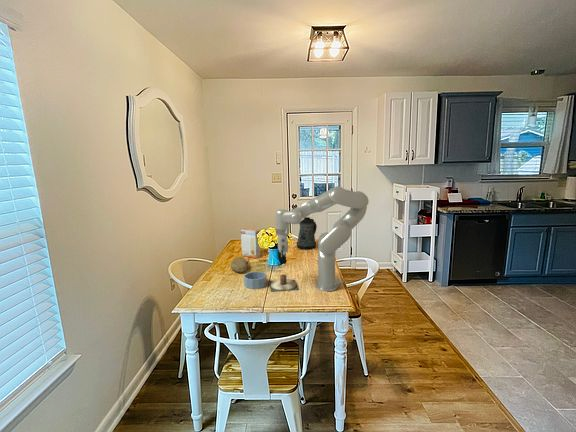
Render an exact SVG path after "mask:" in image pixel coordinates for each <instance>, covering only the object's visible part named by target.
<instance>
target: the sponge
mask: <svg viewBox="0 0 576 432" xmlns="http://www.w3.org/2000/svg"><path fill="white" fill-rule="evenodd" d="M248 263H249V260H248V258H247V257H246V258H245V257H243V256H238V257H237V258H236V257H235V258H234V259H233V260H232V261H231V262H230V268H231V269H232V270H234V271H235V272H237V273H243V272H244V273H245V271H246V270H247V269H248Z"/></svg>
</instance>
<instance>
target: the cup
mask: <svg viewBox="0 0 576 432" xmlns="http://www.w3.org/2000/svg"><path fill="white" fill-rule="evenodd" d="M267 280H268V279H267V273H265V272H264V271H250V272H246V273H245V274H243V284H244V285H243V286H244V288H246V289H248V290H260V289H263V288H265V287H267V285H268V282H267Z"/></svg>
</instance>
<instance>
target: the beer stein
mask: <svg viewBox="0 0 576 432" xmlns="http://www.w3.org/2000/svg"><path fill="white" fill-rule="evenodd" d="M317 227H318V225H317V223H316V221H315V220H314V219H313V218H311V217H308V216H307V217H305V218H303V219H302V221H301V222H300V223H299V232H298V238H297V241H296V248H297V249H298V250H304V251H310V250H314V249H316V247H317V242H316V233H317Z"/></svg>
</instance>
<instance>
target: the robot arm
mask: <svg viewBox="0 0 576 432" xmlns="http://www.w3.org/2000/svg"><path fill="white" fill-rule="evenodd" d="M369 202H370V200H369V197H368V196H367V195H366V194H365V193H364V192H363V191H360V190H359V191H358V190H357V191H354V190H350V189H346V188H344V187H342V186H340V185H339V186H338V185H337V186H334V187H332V188H330V189H328V190H326V191H325V192H323V193H321V194H319V195H316V197H313V198H311V199H309V200H308V201H305V202H304V203H302V204H300V205H298V206H296V207H294V208H293V209H291V210H288V209H284V208H283V209H278V210H276V211H275V235H276V236H277V250H278V259H280V265H285V264H287V253H288V252H289V239H288V235H290V224H291V225H298V224H299V223H300V222H301V221H302V220H303V219H304V218H305V217H308V216H311V215H312V214H316V213H321V212H324V211H326V210H327V209H329V208H331V207H333V206H336V205H340V206H343V207H347V208H349V210H348V211H346V212H345V214H344V215H342V217H340V219H338V220H337V221H336V222H335V223H334V224H333V226H332V229H331V230H330V231H329V232H324V233H321V234H320V235H319V237H318V240H317V244H318V245H317V246H318V249H317V251H318V252H317V253H318V254H317V255H318V256H317V257H318V260H317V263H318V264H317V267H318V269H317V272H318V273H317V275H318V276H317V283H315V288H316V289H317V290H319V291H322V292H333V291H334V292H335V291H337V290H338V286H339V285H344V280H340V279H336V251H337V250H338V249H340V248H341V246H343V245H344V244H345V243H346V242H347V241H348V240H349V239H350V237H351V235H352V231H353V229H354V228H355V227H356V226H357V225H359V223H360V222H361V221H362V220H363V219H364V218H365V215H366V212H367V209H368V205H369ZM299 225H300V224H299Z"/></svg>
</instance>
